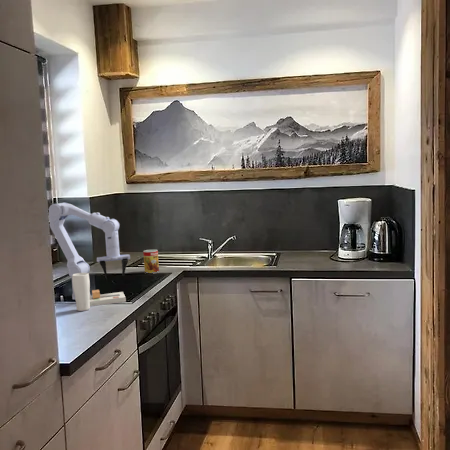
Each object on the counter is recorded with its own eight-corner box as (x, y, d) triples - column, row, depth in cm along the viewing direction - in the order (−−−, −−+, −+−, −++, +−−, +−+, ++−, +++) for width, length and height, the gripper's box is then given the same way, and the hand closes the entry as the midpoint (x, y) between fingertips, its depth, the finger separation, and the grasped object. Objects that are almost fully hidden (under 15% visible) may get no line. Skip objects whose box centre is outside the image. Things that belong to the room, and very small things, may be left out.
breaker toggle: (92, 296, 236) (91, 290, 236) (99, 295, 237) (98, 289, 237) (93, 298, 231) (92, 292, 231) (100, 297, 232) (99, 291, 232)
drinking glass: (93, 307, 226) (90, 272, 224) (89, 311, 219) (86, 275, 218) (77, 308, 226) (74, 273, 224) (73, 312, 219) (70, 276, 218)
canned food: (156, 273, 291) (155, 251, 290) (142, 273, 293) (141, 252, 291) (161, 270, 299) (159, 249, 297) (147, 270, 300) (146, 249, 299)
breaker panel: (86, 300, 238) (86, 295, 238) (123, 296, 243) (122, 291, 243) (87, 306, 228) (87, 301, 228) (125, 301, 232) (125, 296, 232)
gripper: (96, 249, 234) (98, 279, 235) (130, 246, 238) (132, 276, 239) (95, 247, 240) (97, 276, 242) (128, 244, 244) (130, 273, 246)
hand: (114, 276), depth 241 cm, fingers open, 7 cm apart
